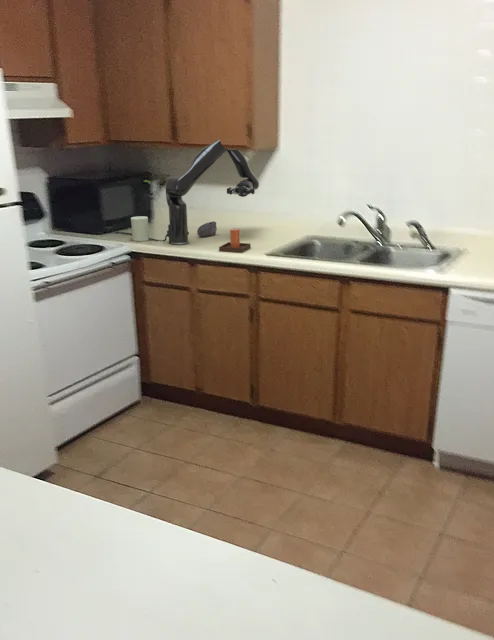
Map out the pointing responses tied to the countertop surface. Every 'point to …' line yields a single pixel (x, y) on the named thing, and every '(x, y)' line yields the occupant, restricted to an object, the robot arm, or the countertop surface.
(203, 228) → the perforated stone tool
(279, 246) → the countertop surface
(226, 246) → the stand
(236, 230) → the orange block
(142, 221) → the can
